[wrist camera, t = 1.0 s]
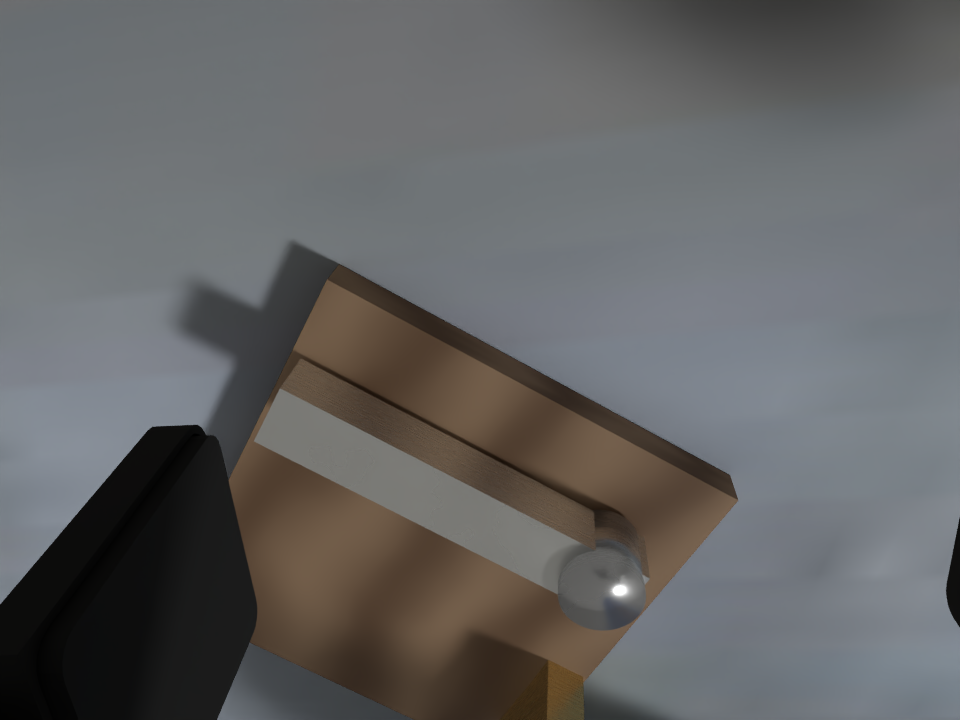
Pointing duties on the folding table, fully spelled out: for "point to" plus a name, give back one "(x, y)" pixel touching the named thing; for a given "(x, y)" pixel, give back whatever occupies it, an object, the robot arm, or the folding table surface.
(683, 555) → the plate
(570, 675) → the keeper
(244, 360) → the folding table surface
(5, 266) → the folding table surface
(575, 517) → the lock bar
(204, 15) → the folding table surface
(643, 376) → the folding table surface
